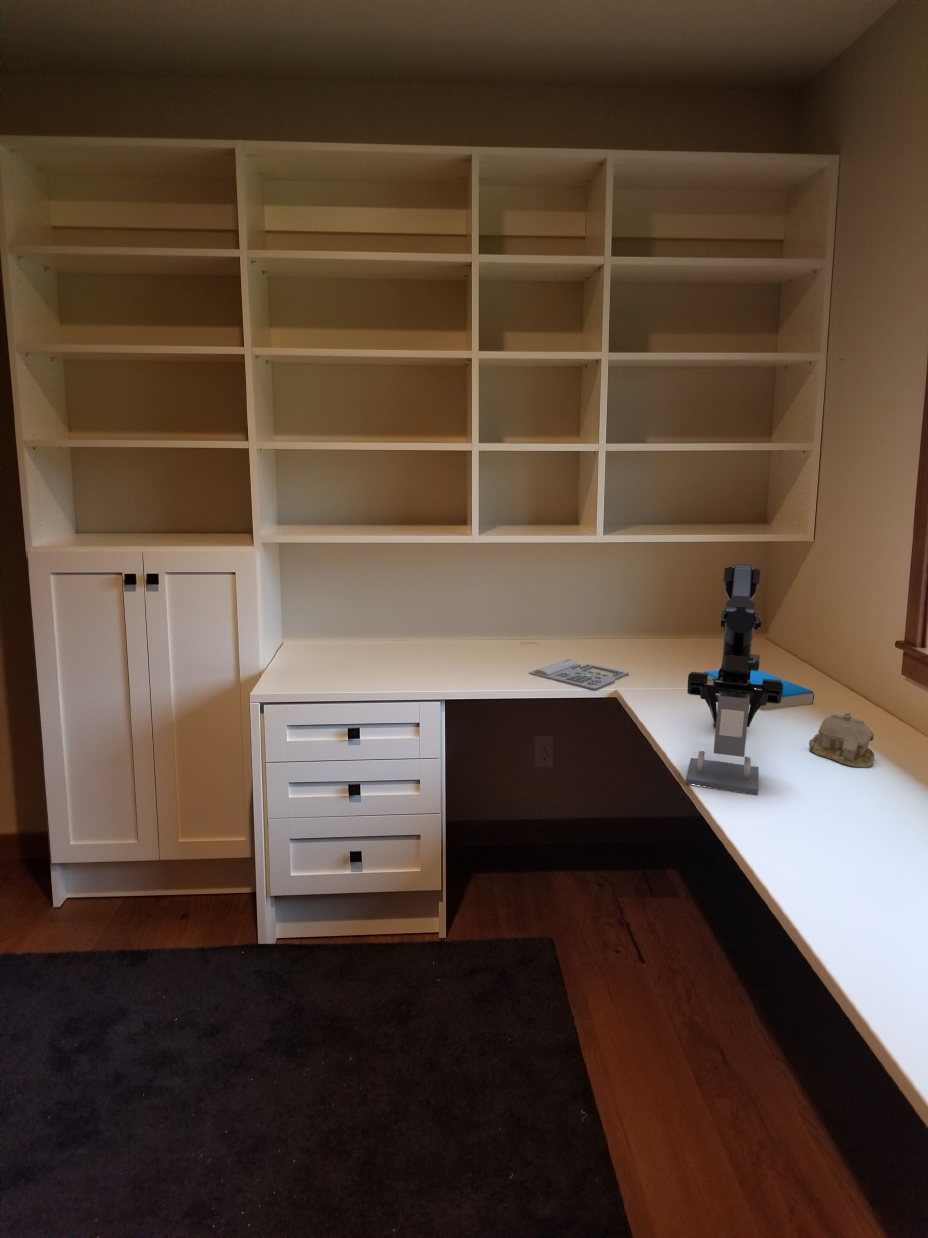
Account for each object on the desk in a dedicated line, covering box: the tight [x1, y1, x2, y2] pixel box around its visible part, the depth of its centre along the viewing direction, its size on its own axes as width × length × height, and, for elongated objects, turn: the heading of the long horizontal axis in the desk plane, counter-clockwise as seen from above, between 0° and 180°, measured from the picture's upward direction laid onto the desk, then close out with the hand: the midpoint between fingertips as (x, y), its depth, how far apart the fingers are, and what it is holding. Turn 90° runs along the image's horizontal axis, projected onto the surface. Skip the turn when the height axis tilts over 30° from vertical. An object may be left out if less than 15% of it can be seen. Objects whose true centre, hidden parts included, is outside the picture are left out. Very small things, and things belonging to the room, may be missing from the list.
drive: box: [713, 691, 750, 758], centre depth 171 cm, size 3×6×12 cm, turn 72°
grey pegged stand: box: [685, 750, 760, 795], centre depth 173 cm, size 12×14×5 cm
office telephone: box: [528, 659, 630, 692], centre depth 245 cm, size 23×3×20 cm
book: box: [703, 669, 815, 711], centre depth 230 cm, size 17×4×25 cm
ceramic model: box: [808, 712, 875, 768], centre depth 186 cm, size 14×11×10 cm
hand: (731, 724), depth 170 cm, fingers closed on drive, 6 cm apart
